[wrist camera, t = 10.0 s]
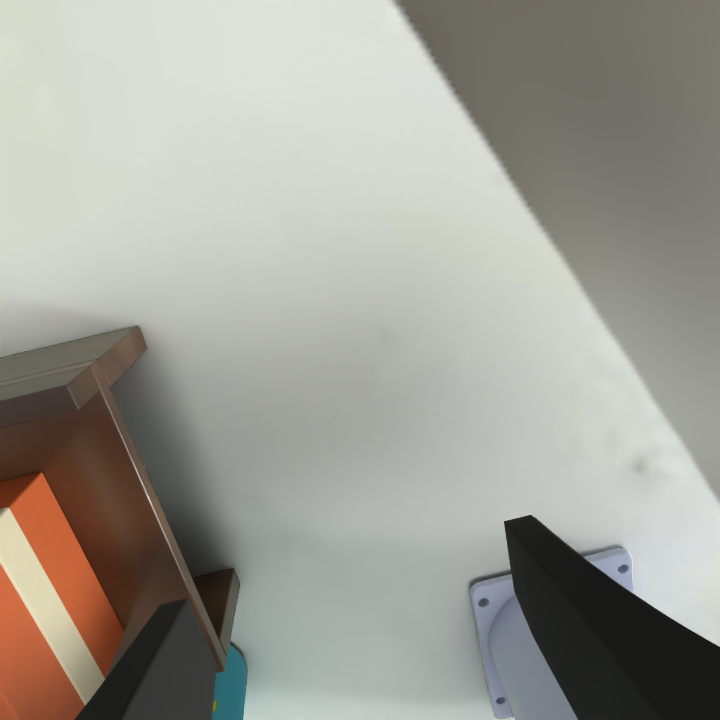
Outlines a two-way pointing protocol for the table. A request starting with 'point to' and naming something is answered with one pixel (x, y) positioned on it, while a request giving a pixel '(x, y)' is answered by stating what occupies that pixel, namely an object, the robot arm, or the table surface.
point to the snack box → (48, 609)
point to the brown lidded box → (104, 481)
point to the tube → (230, 688)
